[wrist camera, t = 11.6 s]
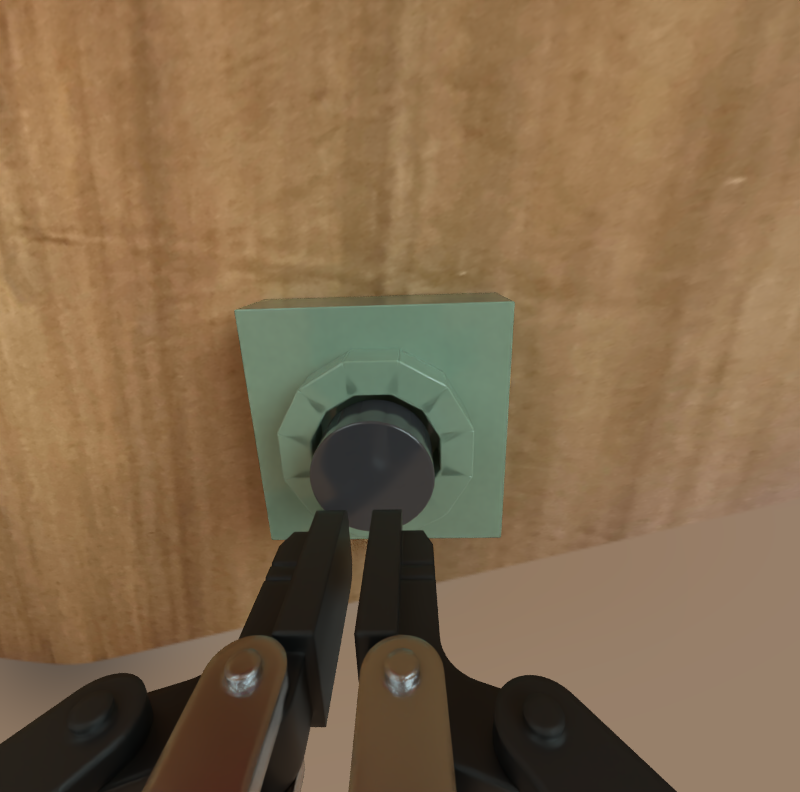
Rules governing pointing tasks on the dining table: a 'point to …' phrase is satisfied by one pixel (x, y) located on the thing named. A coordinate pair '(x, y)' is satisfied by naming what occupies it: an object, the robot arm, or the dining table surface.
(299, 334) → the button base
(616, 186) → the dining table surface
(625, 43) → the dining table surface
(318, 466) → the button
